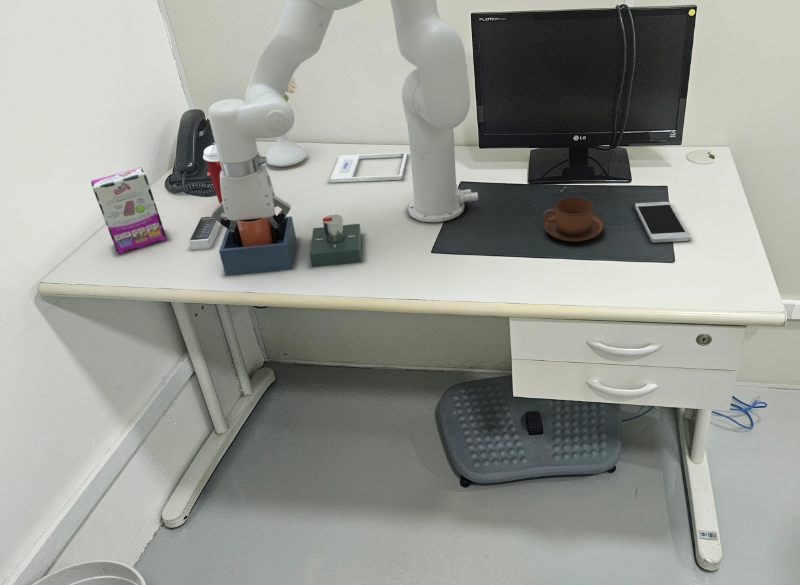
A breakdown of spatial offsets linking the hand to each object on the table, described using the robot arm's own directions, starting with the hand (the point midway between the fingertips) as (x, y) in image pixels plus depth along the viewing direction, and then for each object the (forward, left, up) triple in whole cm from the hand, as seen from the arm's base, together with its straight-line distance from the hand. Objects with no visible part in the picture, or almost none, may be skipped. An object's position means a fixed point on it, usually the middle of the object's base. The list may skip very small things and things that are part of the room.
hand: (258, 243), depth 148 cm
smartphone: (-83, +2, -3) cm, 83 cm away
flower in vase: (-1, -51, -4) cm, 51 cm away
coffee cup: (+10, -26, -4) cm, 28 cm away
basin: (0, 0, -3) cm, 3 cm away
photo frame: (-23, -40, -3) cm, 46 cm away
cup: (0, 0, -2) cm, 2 cm away
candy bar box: (+29, -12, -4) cm, 31 cm away
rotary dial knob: (-16, 0, 0) cm, 16 cm away
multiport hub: (+14, -12, -4) cm, 18 cm away
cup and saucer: (-65, +2, -4) cm, 65 cm away
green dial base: (-16, 0, -3) cm, 16 cm away
